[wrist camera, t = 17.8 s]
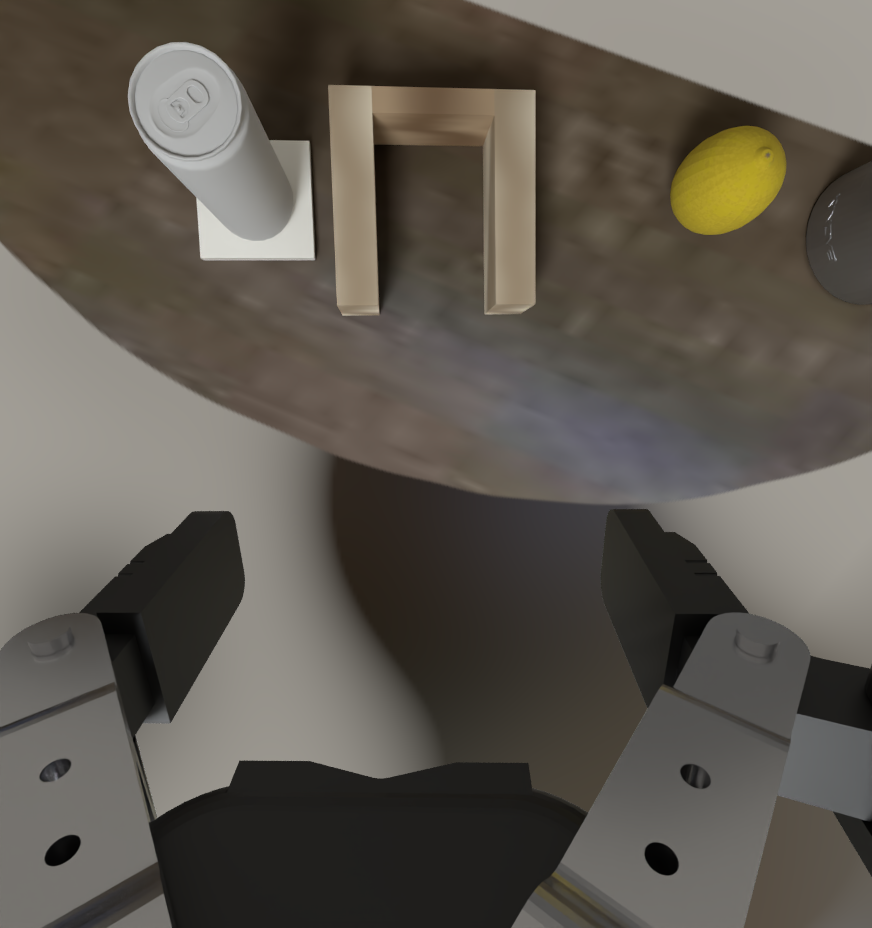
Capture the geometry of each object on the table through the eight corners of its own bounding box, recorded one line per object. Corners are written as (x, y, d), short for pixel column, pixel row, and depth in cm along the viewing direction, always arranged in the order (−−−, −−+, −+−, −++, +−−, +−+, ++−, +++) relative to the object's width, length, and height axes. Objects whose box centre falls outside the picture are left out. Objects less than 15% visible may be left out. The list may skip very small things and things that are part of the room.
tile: (310, 145, 35) (308, 140, 34) (315, 260, 36) (314, 257, 35) (195, 143, 34) (192, 138, 34) (203, 260, 35) (200, 257, 35)
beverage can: (200, 198, 34) (97, 91, 22) (258, 145, 34) (186, 11, 22) (254, 260, 35) (183, 188, 23) (312, 209, 35) (270, 110, 23)
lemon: (706, 147, 37) (792, 80, 29) (740, 224, 38) (832, 178, 30) (635, 188, 37) (702, 131, 29) (670, 263, 38) (745, 228, 30)
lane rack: (519, 123, 36) (535, 90, 32) (519, 313, 37) (535, 304, 33) (335, 120, 35) (328, 84, 31) (342, 315, 36) (337, 305, 32)
